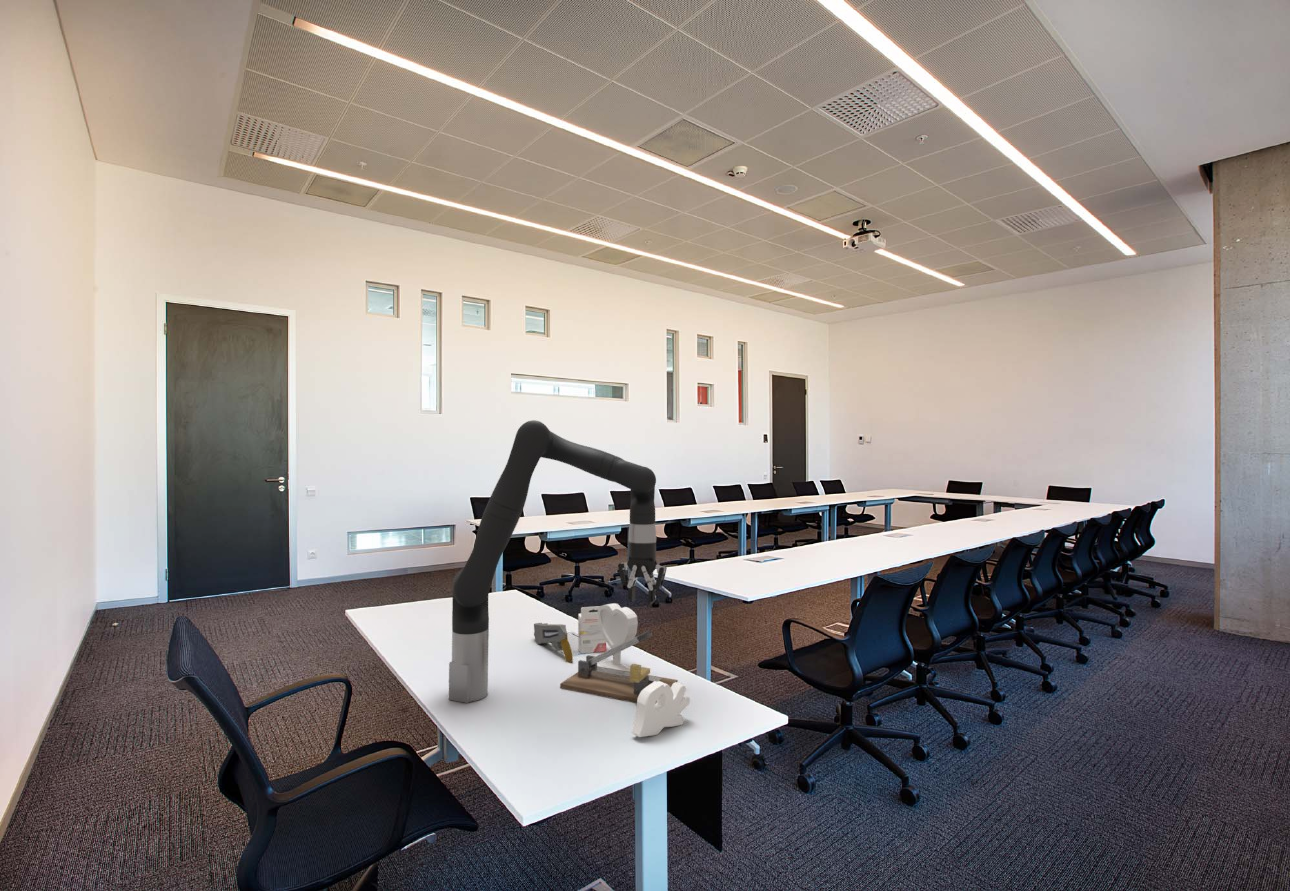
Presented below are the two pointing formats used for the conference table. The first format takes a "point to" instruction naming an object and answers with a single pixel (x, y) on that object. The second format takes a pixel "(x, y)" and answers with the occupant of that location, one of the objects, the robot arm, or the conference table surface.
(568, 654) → the gun
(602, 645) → the ink cartridge box
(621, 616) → the heart sculpture
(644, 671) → the lock bolt
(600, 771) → the conference table surface
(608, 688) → the walnut board
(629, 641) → the tong arm
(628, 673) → the tong frame
